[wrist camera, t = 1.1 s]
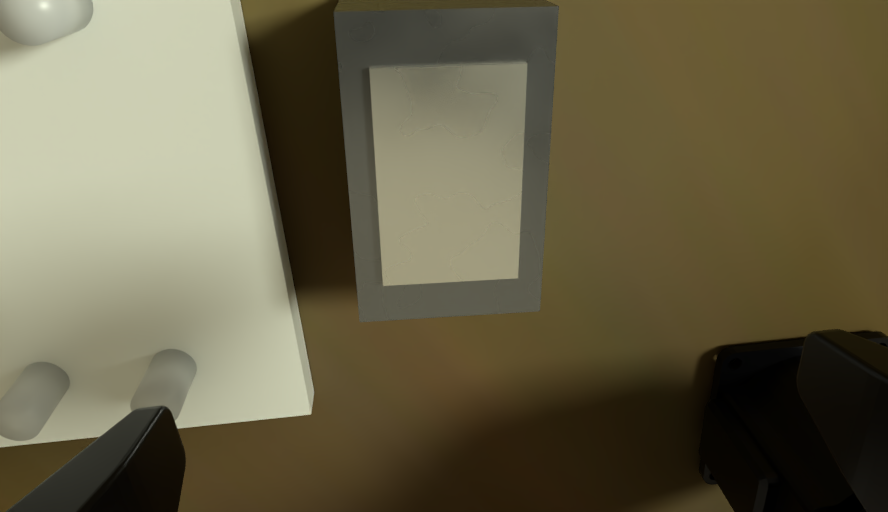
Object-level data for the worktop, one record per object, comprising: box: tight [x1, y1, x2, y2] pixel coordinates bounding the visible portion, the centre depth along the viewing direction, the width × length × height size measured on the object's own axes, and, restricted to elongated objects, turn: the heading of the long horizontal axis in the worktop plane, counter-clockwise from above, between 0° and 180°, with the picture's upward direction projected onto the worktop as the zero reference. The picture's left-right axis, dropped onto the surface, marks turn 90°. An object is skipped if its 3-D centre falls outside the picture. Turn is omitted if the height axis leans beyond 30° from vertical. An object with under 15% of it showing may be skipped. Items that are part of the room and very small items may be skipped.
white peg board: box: [0, 0, 314, 447], centre depth 18 cm, size 12×16×3 cm
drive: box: [334, 0, 559, 322], centre depth 18 cm, size 5×8×4 cm, turn 1°
